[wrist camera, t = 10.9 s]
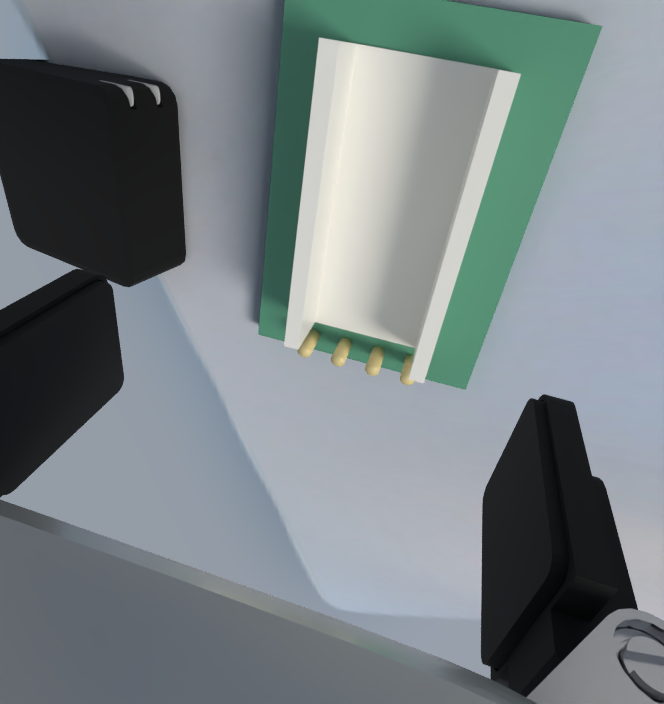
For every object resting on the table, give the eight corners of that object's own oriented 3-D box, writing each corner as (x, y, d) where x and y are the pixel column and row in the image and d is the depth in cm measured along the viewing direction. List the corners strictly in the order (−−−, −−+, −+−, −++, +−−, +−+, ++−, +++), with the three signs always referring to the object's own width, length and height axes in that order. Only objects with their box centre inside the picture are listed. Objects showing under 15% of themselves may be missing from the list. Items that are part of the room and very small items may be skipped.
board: (293, -23, 21) (255, -41, 18) (596, 27, 20) (625, 20, 16) (264, 327, 31) (235, 363, 27) (465, 380, 29) (464, 426, 26)
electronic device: (16, 243, 30) (135, 292, 27) (-33, 56, 25) (109, 87, 21) (75, 226, 33) (187, 268, 30) (43, 57, 28) (177, 85, 24)
